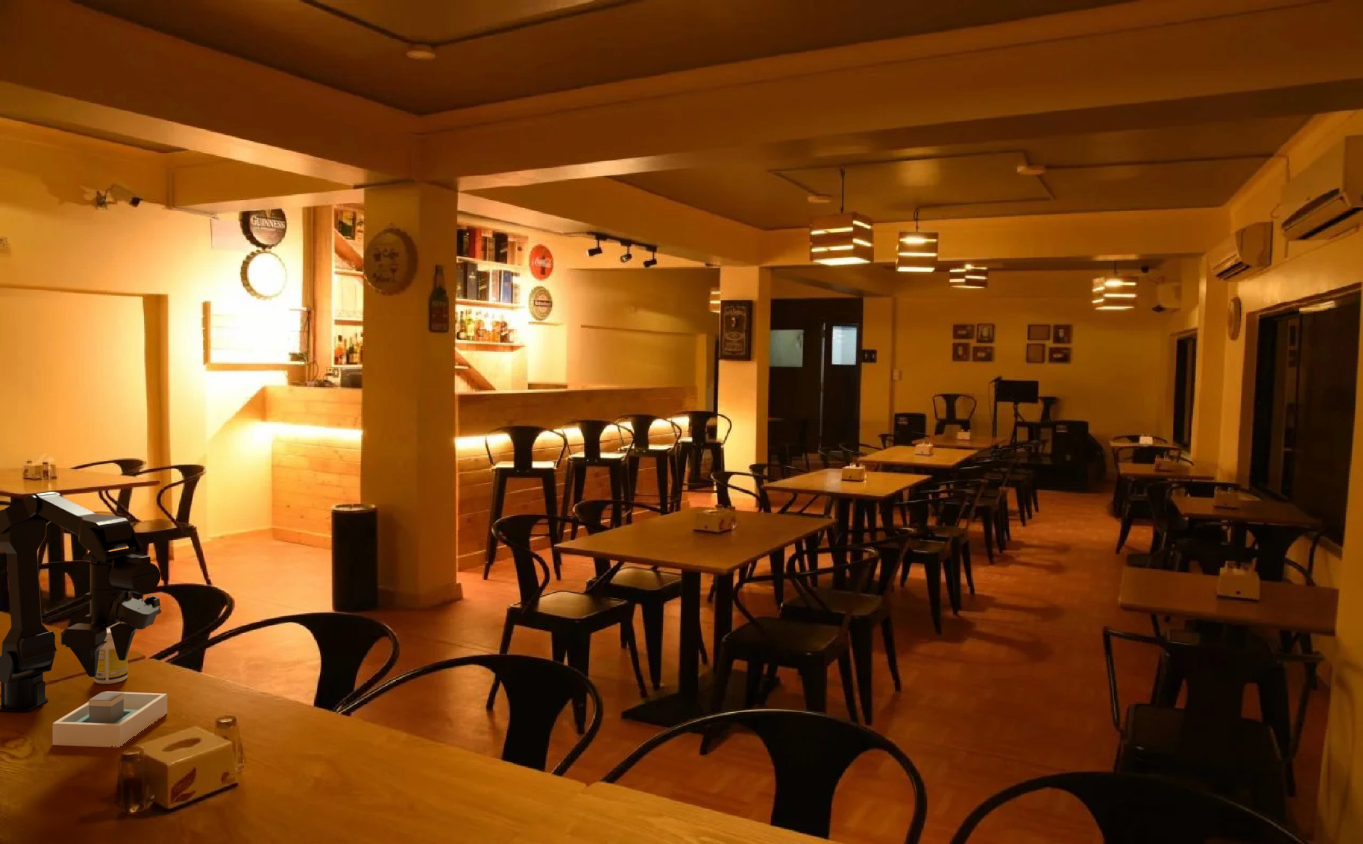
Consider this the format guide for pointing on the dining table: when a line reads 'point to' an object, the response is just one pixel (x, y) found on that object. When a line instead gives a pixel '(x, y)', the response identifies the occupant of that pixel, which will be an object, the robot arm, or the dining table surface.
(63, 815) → the dining table surface
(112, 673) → the pill bottle
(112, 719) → the square block
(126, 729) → the walled box
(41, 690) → the robot arm
